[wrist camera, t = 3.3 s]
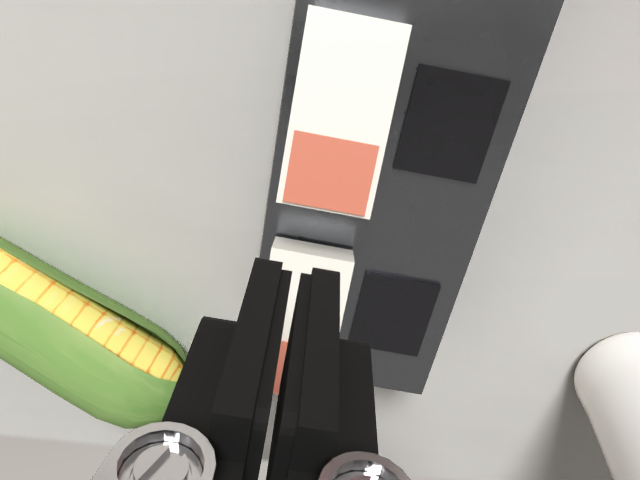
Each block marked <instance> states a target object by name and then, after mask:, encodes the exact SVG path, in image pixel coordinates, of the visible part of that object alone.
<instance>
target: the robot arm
mask: <svg viewBox="0 0 640 480" xmlns="http://www.w3.org/2000/svg"><path fill="white" fill-rule="evenodd" d="M282 265H283V262H279V261H273V260H267V259H262V258H255V261H254V265H253V268H252V272H251V275H250V278H249V282H248V285H247V289H246V292H245V296H244V299H243V303H242V306H241V310H240V313H239V317H238V320H237V322H235V321H229V320H223V319H217V318H211V317H205V316H204V317H203V318H202V319H201V322H200V324H199V326H198V329H197V332H196V334H195V337H194V339H193V342H192V344H191V347H190V350H189V352H188V355H187V357H186V360H185V362H184V365H183V367H182V370H181V373H180V375H179V378H178V380H177V383H176V385H175V388H174V391H173V393H172V396H171V398H170V401H169V403H168V406H167V409H166V411H165V414H164V416H163V419H162V421H161V422H157V423H150V424H148V425H145V426H142V427H139V428H136V429H134V430H133V431H131V432H130V433H128V434H127V435H125V436H123V437H122V438H121V439H120V440H119V441H118V442H117V444H116V445H115V446H114V447H113V448H112V449H111V451H110V452H109V453H108V455H107V456H106V458H105V459H104V461H103V463H102V464H101V466H100V467H99V468H98V470H97V471H96V473H95V474H94V476H93V477H92V479H91V480H258V475H259V470H260V464H261V459H262V453H263V448H264V442H265V437H266V431H267V426H268V420H269V414H270V408H271V402H272V395H273V389H274V383H275V377H276V370H277V364H278V358H279V352H280V345H281V339H282V333H283V327H284V320H285V314H286V308H287V302H288V295H289V289H290V283H291V277H292V271H289V270H283V269H282ZM266 480H410V478H409V477H408V476H407V475H406V473H405V472H404V471H403V470H402V469H401V468H400V467H398V466H397V465H396V464H394V463H393V462H392V461H390V460H389V459H387V458H384V457H382V456H380V455H378V444H377V429H376V415H375V401H374V387H373V373H372V359H371V348H370V345H369V343H363V342H357V341H351V340H345V339H340V272H338V271H332V270H326V269H320V268H314V267H313V269H312V273H311V274H306V273H301V275H300V280H299V286H298V291H297V296H296V302H295V307H294V312H293V317H292V323H291V328H290V333H289V339H288V344H287V349H286V355H285V360H284V365H283V371H282V376H281V382H280V388H279V394H278V401H277V408H276V415H275V422H274V428H273V435H272V442H271V449H270V456H269V463H268V469H267V476H266Z"/></svg>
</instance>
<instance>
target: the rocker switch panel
mask: <svg viewBox="0 0 640 480" xmlns="http://www.w3.org/2000/svg"><path fill="white" fill-rule="evenodd" d="M563 2H564V0H296V1H295V8H294V16H293V23H292V30H291V37H290V44H289V51H288V58H287V65H286V72H285V79H284V86H283V93H282V100H281V108H280V115H279V122H278V129H277V136H276V143H275V150H274V157H273V164H272V171H271V178H270V185H269V193H268V200H267V207H266V214H265V221H264V228H263V235H262V242H261V249H260V256H259V258H262V259H267V260H269V259H270V253H271V247H272V245H273V242H274V239H275V237H276V236H278V237H283V238H289V239H294V240H300V241H305V242H311V243H316V244H322V245H327V246H333V247H338V248H344V249H349V250H353V254H354V261H355V264H354V269H353V273H352V278H351V283H350V287H349V292H348V297H347V301H346V306H345V311H344V315H343V320H342V325H341V329H340V339H345V340H351V341H357V342H363V343H369V345H370V348H371V359H372V373H373V386H376V387H381V388H387V389H393V390H399V391H404V392H410V393H416V394H422V392H423V389H424V386H425V383H426V381H427V378H428V375H429V372H430V370H431V367H432V364H433V361H434V359H435V356H436V353H437V350H438V347H439V345H440V342H441V339H442V336H443V334H444V331H445V328H446V325H447V323H448V320H449V317H450V314H451V312H452V309H453V306H454V303H455V300H456V298H457V295H458V292H459V289H460V287H461V284H462V281H463V278H464V276H465V273H466V270H467V267H468V265H469V262H470V259H471V256H472V254H473V251H474V248H475V245H476V242H477V240H478V237H479V234H480V231H481V229H482V226H483V223H484V220H485V218H486V215H487V212H488V209H489V207H490V204H491V201H492V198H493V195H494V193H495V190H496V187H497V184H498V182H499V179H500V176H501V173H502V171H503V168H504V165H505V162H506V160H507V157H508V154H509V151H510V148H511V146H512V143H513V140H514V137H515V135H516V132H517V129H518V126H519V124H520V121H521V118H522V115H523V113H524V110H525V107H526V104H527V101H528V99H529V96H530V93H531V90H532V88H533V85H534V82H535V79H536V77H537V74H538V71H539V68H540V66H541V63H542V60H543V57H544V54H545V52H546V49H547V46H548V43H549V41H550V38H551V35H552V32H553V30H554V27H555V24H556V21H557V19H558V16H559V13H560V10H561V8H562V5H563ZM308 5H314V6H319V7H324V8H329V9H334V10H339V11H344V12H349V13H354V14H359V15H364V16H369V17H374V18H379V19H385V20H390V21H395V22H400V23H405V24H410V25H412V29H411V33H410V38H409V42H408V47H407V52H406V56H405V61H404V65H403V70H402V74H401V79H400V84H399V88H398V93H397V97H396V102H395V107H394V111H393V116H392V120H391V125H390V130H389V134H388V139H387V143H386V148H385V153H384V157H383V162H382V166H381V171H380V176H379V180H378V185H377V189H376V194H375V199H374V203H373V208H372V212H371V217H370V220H369V219H364V218H358V217H353V216H348V215H342V214H337V213H331V212H326V211H320V210H315V209H310V208H304V207H299V206H293V205H288V204H283V203H277V202H276V199H277V192H278V186H279V180H280V174H281V168H282V162H283V156H284V150H285V144H286V138H287V132H288V126H289V120H290V114H291V107H292V101H293V95H294V89H295V83H296V77H297V71H298V65H299V59H300V53H301V47H302V41H303V35H304V29H305V22H306V16H307V10H308Z"/></svg>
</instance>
